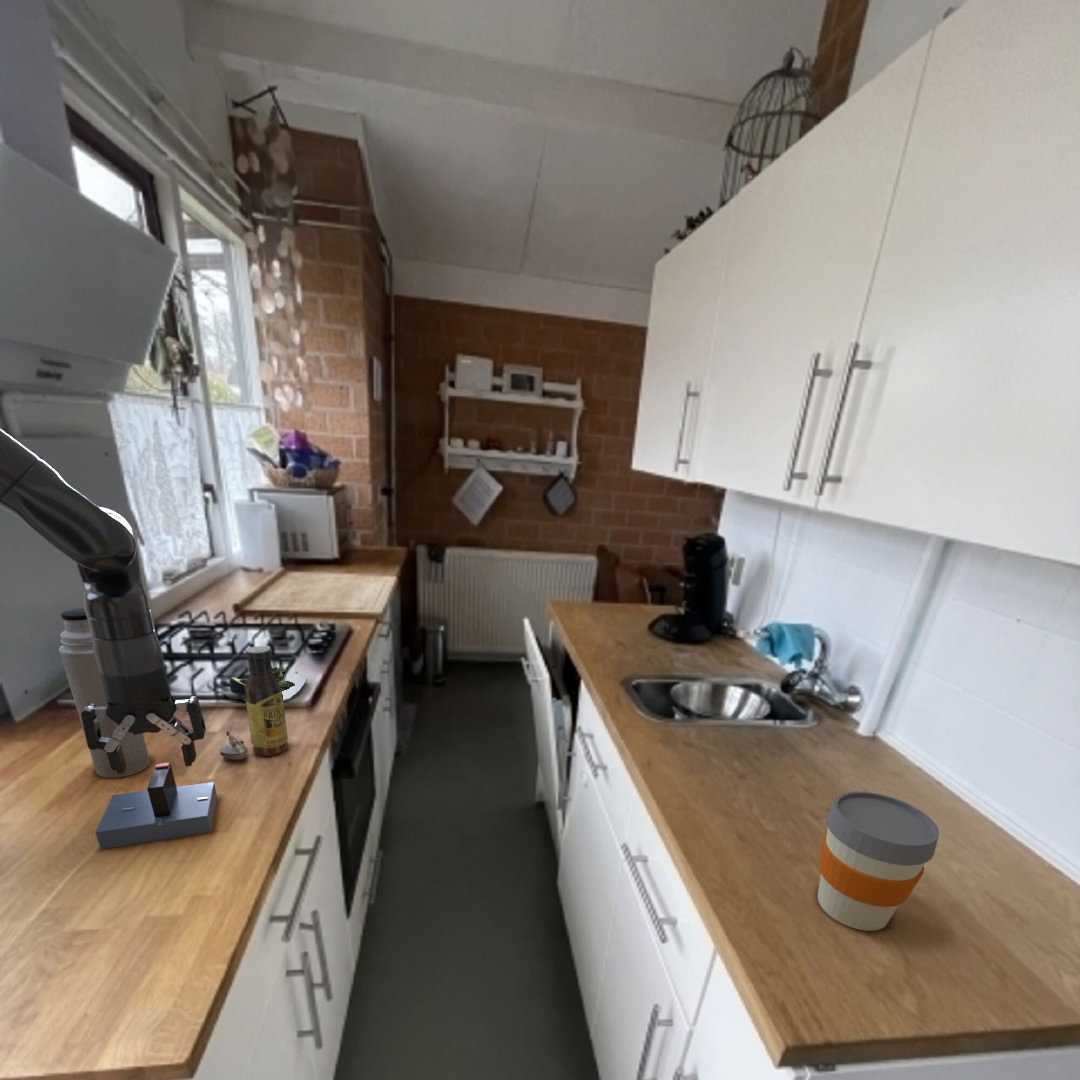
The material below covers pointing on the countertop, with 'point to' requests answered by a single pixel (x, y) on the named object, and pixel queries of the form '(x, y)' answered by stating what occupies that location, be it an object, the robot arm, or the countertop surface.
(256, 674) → the sauce bottle
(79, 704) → the thermos bottle
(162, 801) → the black and red block
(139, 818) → the rotary switch base
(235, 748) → the figurine
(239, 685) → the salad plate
